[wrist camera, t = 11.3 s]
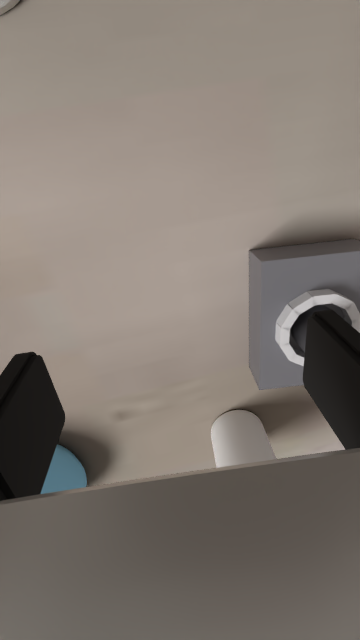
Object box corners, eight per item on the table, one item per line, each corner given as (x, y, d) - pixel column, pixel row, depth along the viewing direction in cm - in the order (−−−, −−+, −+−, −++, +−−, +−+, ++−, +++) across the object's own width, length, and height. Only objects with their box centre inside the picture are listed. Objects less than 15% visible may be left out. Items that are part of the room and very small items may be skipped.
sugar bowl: (107, 457, 49) (92, 536, 38) (62, 509, 53) (38, 591, 43) (14, 417, 44) (-31, 494, 34) (-25, 478, 49) (-75, 561, 39)
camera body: (249, 250, 35) (266, 266, 29) (353, 238, 35) (391, 252, 29) (249, 366, 42) (263, 398, 36) (336, 357, 42) (364, 387, 36)
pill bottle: (270, 413, 46) (315, 514, 33) (249, 451, 49) (281, 556, 36) (221, 402, 45) (246, 502, 31) (202, 441, 48) (218, 547, 34)
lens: (293, 307, 33) (335, 355, 25) (339, 303, 33) (397, 348, 25) (289, 347, 35) (328, 403, 27) (333, 343, 35) (385, 397, 27)
